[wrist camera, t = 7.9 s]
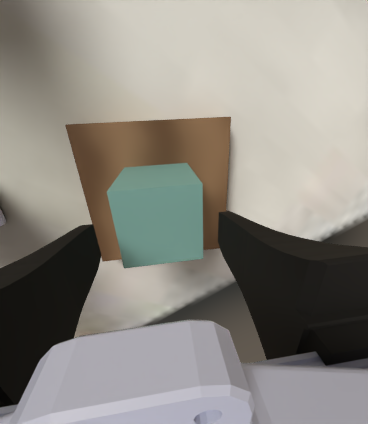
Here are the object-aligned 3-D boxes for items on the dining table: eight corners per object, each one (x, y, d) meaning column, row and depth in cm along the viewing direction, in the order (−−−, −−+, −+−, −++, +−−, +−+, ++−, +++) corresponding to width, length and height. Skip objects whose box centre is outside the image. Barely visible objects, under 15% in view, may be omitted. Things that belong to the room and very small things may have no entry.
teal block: (134, 223, 18) (124, 268, 12) (124, 167, 15) (106, 191, 10) (189, 217, 18) (203, 258, 13) (186, 162, 16) (202, 183, 10)
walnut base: (107, 249, 21) (102, 261, 19) (76, 124, 16) (65, 124, 14) (218, 237, 22) (224, 247, 20) (222, 117, 17) (230, 116, 15)
